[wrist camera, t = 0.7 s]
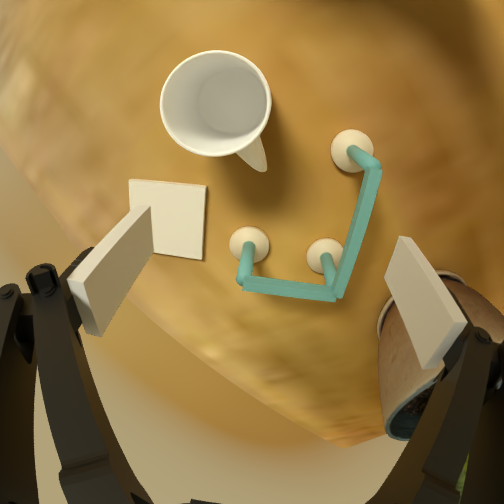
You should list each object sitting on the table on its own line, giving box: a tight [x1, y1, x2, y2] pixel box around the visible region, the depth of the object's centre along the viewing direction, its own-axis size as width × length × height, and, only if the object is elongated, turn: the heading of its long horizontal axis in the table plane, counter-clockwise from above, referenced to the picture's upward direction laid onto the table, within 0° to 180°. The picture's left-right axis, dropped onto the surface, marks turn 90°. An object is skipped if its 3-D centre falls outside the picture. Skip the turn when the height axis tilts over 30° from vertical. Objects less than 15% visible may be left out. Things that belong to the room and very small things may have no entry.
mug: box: [160, 50, 272, 172], centre depth 25 cm, size 9×12×11 cm
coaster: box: [129, 179, 207, 260], centre depth 36 cm, size 10×10×1 cm
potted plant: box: [377, 270, 504, 504], centre depth 24 cm, size 21×22×40 cm
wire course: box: [229, 129, 383, 302], centre depth 30 cm, size 19×15×9 cm
